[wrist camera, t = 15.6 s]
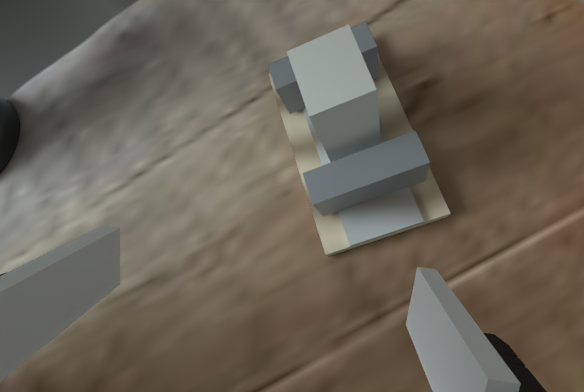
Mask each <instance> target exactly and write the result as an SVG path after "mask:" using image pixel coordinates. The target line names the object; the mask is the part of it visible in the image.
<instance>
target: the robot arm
mask: <svg viewBox="0 0 584 392" xmlns="http://www.w3.org/2000/svg"><path fill="white" fill-rule="evenodd" d="M18 135H19V118H18V114H17V111H16V109H15V108H14V106H13V105H12V104H11V103H10V102H8V101H6V100H4V99H2V98H0V172H1V171H2V169H3V168H4V167H5V165H6V164H7V162H8V161H9V159H10V157H11V155H12V153H13V151H14V149H15V146H16V143H17V140H18ZM118 285H120V228H117V227H110V226H102V227H99V228H97V229H95V230H93V231H91V232H89V233H87V234H85V235H83V236H81V237H79V238H77V239H75V240H73V241H71V242H69V243H67V244H65V245H63V246H61V247H59V248H57V249H54V250H52V251H50V252H48V253H46V254H44V255H42V256H40V257H38V258H36V259H34V260H32V261H30V262H28V263H26V264H24V265H22V266H20V267H18V268H16V269H14V270H12V271H9V272H7V273H3V274H1V275H0V382H1V381H2V380H3V379H5V378H6V377H7V376H8V375H9V374H11V373H12V372H13V371H14V370H16V369H17V368H18V367H19V366H20V365H22V364H23V363H24V362H25V361H27V360H28V359H29V358H30V357H31V356H33V355H34V354H35V353H36V352H38V351H39V350H40V349H41V348H43V347H44V346H45V345H46V344H47V343H49V342H50V341H51V340H52V339H54V338H55V337H56V336H57V335H58V334H60V333H61V332H62V331H63V330H65V329H66V328H67V327H68V326H69V325H71V324H72V323H73V322H74V321H76V320H77V319H78V318H79V317H80V316H82V315H83V314H84V313H85V312H87V311H88V310H89V309H90V308H91V307H93V306H94V305H95V304H96V303H98V302H99V301H100V300H101V299H102V298H104V297H105V296H106V295H107V294H109V293H110V292H111V291H112V290H114V289H115V288H116V287H117V286H118ZM406 326H407V329H408V331H409V334H410V336H411V339H412V341H413V344H414V346H415V349H416V351H417V354H418V356H419V359H420V361H421V364H422V366H423V369H424V371H425V374H426V376H427V379H428V381H429V384H430V386H431V389H432V391H433V392H546V391H545V389H544V388H543V387H542V386H541V384H540V383H539V382H538V381H537V380H536V378H535V377H534V376H533V375H532V373H531V372H530V371H529V370H528V369H527V368H525V365H524V364H523V362H522V361H521V360H520V359H519V358H517V355H516V354H515V353H514V351H513V350H512V349H511V348H510V346H509V345H508V344H506V343H505V342H504V341H502V340H501V339H500V338H498V337H497V336H496V335H494V334H487V333H483V332H482V331H481V330H480V328H479V327H478V326H477V324H476V323H475V321H474V320H473V319H472V317H471V316H470V315H469V313H468V312H467V311H466V309H465V308H464V307H463V305H462V304H461V303H460V301H459V300H458V299H457V297H456V296H455V295H454V293H453V292H452V290H451V289H450V288H449V286H448V285H447V284H446V282H445V281H444V280H443V278H442V277H441V276H440V274H439V273H438V272H437V270H436V269H430V268H422V267H417V271H416V276H415V281H414V286H413V291H412V296H411V302H410V307H409V312H408V317H407V322H406Z"/></svg>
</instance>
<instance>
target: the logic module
mask: <svg viewBox="0 0 584 392" xmlns="http://www.w3.org/2000/svg"><path fill="white" fill-rule="evenodd" d="M287 54H288V57H289V60H290V63H291V66H292V69H293V71H294V74H295V77H296V80H297V83H298V86H299V89H300V92H301V95H302V98H303V101H304V104H305V107H306V109H307V112H308V115H309V118H310V120H311V122H312V124H313V126H314V128H315V130H316V132H317V135H318V137H319V139H320V141H321V143H322V145H323V147H324V149H325V151H326V153H327V156H328V158H329V160H330V162H333V161H336V160H339V159H341V158H344V157H347V156H349V155H352V154H354V153H357V152H360V151H362V150H365V149H368V148H370V147H373V146H376V145H378V144H381V137H380V124H379V112H378V99H377V89H376V87H375V84H374V82H373V80H372V77H371V75H370V73H369V70H368V68H367V66H366V63H365V61H364V59H363V56H362V54H361V52H360V49H359V47H358V45H357V42H356V40H355V38H354V35H353V33H352V31H351V28H350V26H349V24H348V25H346V26H344V27H341V28H339V29H337V30H334V31H332V32H330V33H328V34H325V35H323V36H321V37H319V38H316V39H314V40H312V41H309V42H307V43H305V44H303V45H300V46H298V47H296V48H294V49H291V50H289V51H287Z"/></svg>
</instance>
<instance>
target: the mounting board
mask: <svg viewBox="0 0 584 392" xmlns="http://www.w3.org/2000/svg"><path fill="white" fill-rule="evenodd" d="M378 68H379V78H377V79H374V80H373V82H374V84H375V87H376V89H377V99H378V112H379V124H380V137H381V143H384V142H386V141H389V140H391V139H394V138H397V137H399V136H402V135H405V134H407V133H410V132H413V130H412V127H411V125H410V123H409V121H408V119H407V116H406V114H405V112H404V110H403V108H402V105H401V103H400V101H399V99H398V97H397V94H396V92H395V90H394V88H393V86H392V84H391V81H390V79H389V77H388V75H387V73H386V70H385V68H384V66H383V64H382V62H381V59H380V57H379V55H378ZM268 75H269V78H270V81H271V84H272V87H273V90H274V94H275V97H276V100H277V103H278V106H279V109H280V112H281V116H282V119H283V122H284V125H285V128H286V131H287V135H288V138H289V141H290V144H291V147H292V150H293V153H294V157H295V160H296V163H297V166H298V169H299V172H300V175H301V179H302V182H303V185H304V188H305V191H306V194H307V197H308V201H309V204H310V207H311V210H312V213H313V216H314V220H315V223H316V226H317V229H318V232H319V235H320V238H321V242H322V245H323V248H324V251H325V254H326V255H327V256H331V255H334V254H337V253H340V252H343V251H346V250H349V249H352V248H355V247H358V246H361V245H364V244H367V243H370V242H373V241H376V240H380V239H383V238H386V237H389V236H392V235H395V234H398V233H401V232H404V231H407V230H410V229H413V228H416V227H419V226H422V225H425V224H428V223H431V222H434V221H437V220H440V219H443V218H446V217H448V216H449V215H450V214H451V213H450V211H449V209H448V207H447V204H446V202H445V200H444V198H443V196H442V193H441V191H440V189H439V187H438V185H437V182H436V180H435V178H434V176H433V174H432V171H431V169H430V167H429V168H428V172H427V175H426V179H425V181H423V182H420V183H417V184H415V185H412V186H409V187H406V188H403V189H400V190H397V191H395V192H392V193H389V194H386V195H383V196H380V197H378V198H375V199H372V200H369V201H366V202H363V203H361V204H358V205H355V206H352V207H349V208H346V209H343V210H341V211H338V212H335V213H332V214H329V215H326V216H324V217H323V216H322V215H321V213H320V212H319V211H318V210H317V209H316V208H315V207H314V206H313V205H312V201H311V198H310V195H309V192H308V189H307V186H306V183H305V180H304V176H303V173H304V172H307V171H309V170H312V169H315V168H317V167H320V166H323V165H325V164H328V163H331V162H330V160H329V158H328V156H327V153H326V151H325V149H324V147H323V145H322V143H321V141H320V139H319V137H318V135H317V132H316V130H315V128H314V126H313V124H312V122H311V120H310V118H309V115H308V112H307V109H306V108H304V109H301V110H299V111H296V112H294V113H292V114H289V112H288V110H287V108H286V107H285V105H284V103H283V101H282V100H281V98H280V96H279V95H278V93H277V91H276V89H275V86H274V83H273V80H272V77H271V73H268Z"/></svg>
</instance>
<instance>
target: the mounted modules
mask: <svg viewBox="0 0 584 392" xmlns="http://www.w3.org/2000/svg"><path fill="white" fill-rule="evenodd" d="M351 31H352V33H353V35H354V38H355V40H356V42H357V45H358V47H359V49H360V52H361V54H362V56H363V59H364V61H365V63H366V66H367V68H368V70H369V73H370V75H371V77H372V80H374V79H377V78H379V68H378V53H377V45H376V43H375V41H374V38H373V36H372V34H371V32H370V30H369V28H368V25H367V23H366V22H364V23H361V24H359V25H357V26H355V27H352V28H351ZM268 67H269V70H270V73H271V77H272V80H273V83H274V86H275V89H276V91H277V93H278V95H279V96H280V98H281V100H282V101H283V103H284V105H285V107H286V108H287V110H288V112H289V114H292V113H294V112H296V111H299V110H301V109H304V108H306V107H305V104H304V101H303V98H302V95H301V92H300V89H299V86H298V83H297V80H296V77H295V74H294V71H293V69H292V66H291V63H290V60H289V57H288V56H287V57H284V58H282V59H280V60H278V61H275V62H273V63H271V64H269V65H268ZM429 165H430V161H429V158H428V156H427V154H426V152H425V150H424V148H423V145H422V143H421V141H420V139H419V137H418V134H417V132H416V130H415V131H413V132H410V133H407V134H405V135H402V136H399V137H397V138H394V139H391V140H389V141H386V142H384V143H381V144H378V145H376V146H373V147H370V148H368V149H365V150H362V151H360V152H357V153H354V154H352V155H349V156H347V157H344V158H341V159H339V160H336V161H333V162H331V163H328V164H325V165H323V166H320V167H317V168H315V169H312V170H309V171H307V172H304V173H303V176H304V180H305V183H306V186H307V189H308V192H309V195H310V198H311V201H312V205H313V206H314V207H315V208H316V209H317V210H318V211H319V212H320V213H321V215H322V216H323V217H324V216H326V215H329V214H332V213H335V212H338V211H341V210H343V209H346V208H349V207H352V206H355V205H358V204H361V203H363V202H366V201H369V200H372V199H375V198H378V197H380V196H383V195H386V194H389V193H392V192H395V191H397V190H400V189H403V188H406V187H409V186H412V185H415V184H417V183H420V182H423V181H425V179H426V175H427V172H428V168H429Z"/></svg>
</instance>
